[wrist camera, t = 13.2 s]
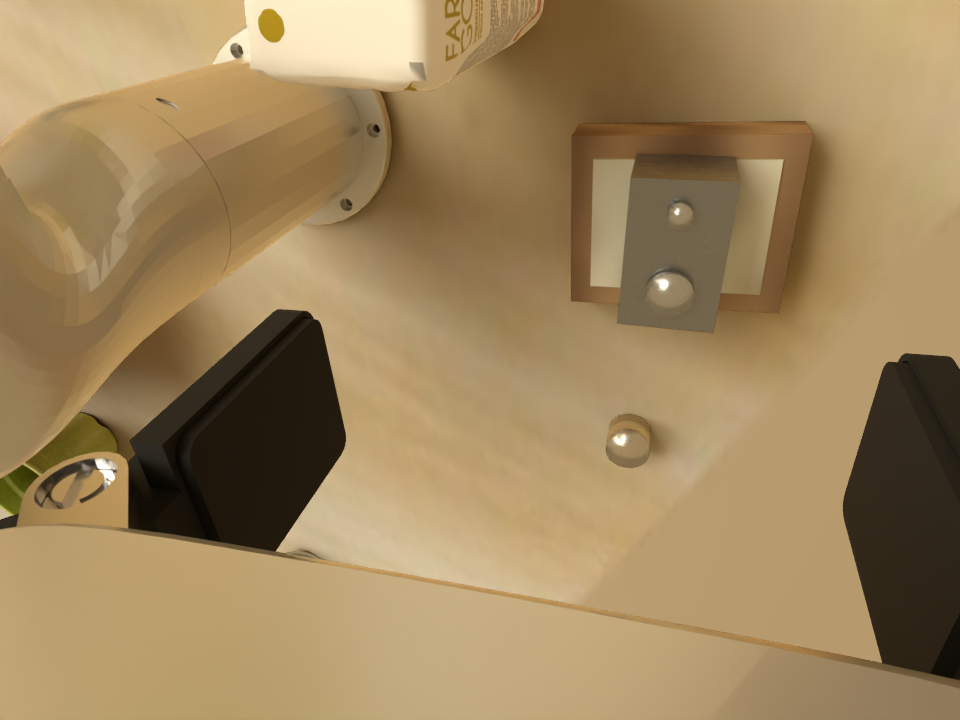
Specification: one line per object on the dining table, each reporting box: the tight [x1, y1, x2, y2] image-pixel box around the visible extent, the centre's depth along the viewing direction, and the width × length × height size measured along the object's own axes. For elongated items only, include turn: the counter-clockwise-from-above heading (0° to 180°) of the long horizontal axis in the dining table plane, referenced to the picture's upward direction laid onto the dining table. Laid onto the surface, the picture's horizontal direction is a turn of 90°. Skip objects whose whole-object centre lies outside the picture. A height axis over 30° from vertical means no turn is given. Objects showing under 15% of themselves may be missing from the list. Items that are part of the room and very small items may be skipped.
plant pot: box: [0, 413, 118, 516], centre depth 63 cm, size 9×9×9 cm
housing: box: [617, 153, 741, 333], centre depth 34 cm, size 8×5×5 cm, turn 2°
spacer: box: [606, 414, 651, 468], centre depth 47 cm, size 3×3×2 cm
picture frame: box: [571, 121, 813, 313], centre depth 38 cm, size 12×10×3 cm
